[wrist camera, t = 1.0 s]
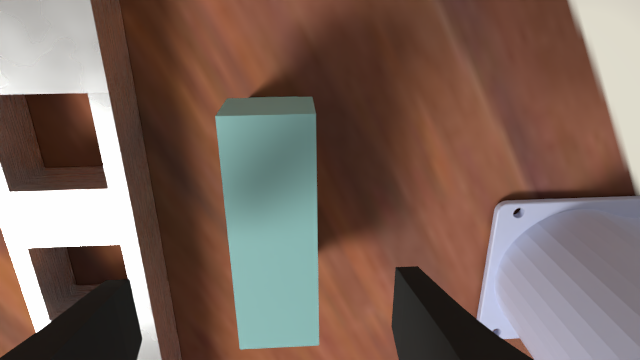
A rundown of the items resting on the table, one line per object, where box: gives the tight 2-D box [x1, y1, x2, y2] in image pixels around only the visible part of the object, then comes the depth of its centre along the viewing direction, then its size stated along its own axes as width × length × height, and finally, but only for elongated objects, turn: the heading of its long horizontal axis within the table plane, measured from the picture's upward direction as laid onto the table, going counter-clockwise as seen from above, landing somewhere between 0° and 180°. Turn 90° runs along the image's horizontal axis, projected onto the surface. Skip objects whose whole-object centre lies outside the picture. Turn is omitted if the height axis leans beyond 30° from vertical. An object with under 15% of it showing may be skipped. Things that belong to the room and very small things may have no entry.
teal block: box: [215, 96, 319, 349], centre depth 17 cm, size 3×9×5 cm, turn 1°
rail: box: [0, 0, 182, 360], centre depth 18 cm, size 5×24×2 cm, turn 0°
